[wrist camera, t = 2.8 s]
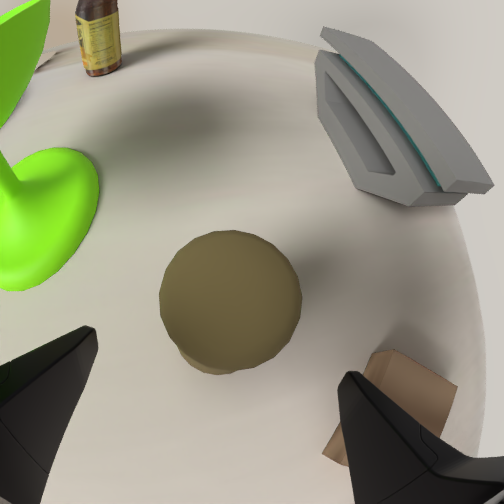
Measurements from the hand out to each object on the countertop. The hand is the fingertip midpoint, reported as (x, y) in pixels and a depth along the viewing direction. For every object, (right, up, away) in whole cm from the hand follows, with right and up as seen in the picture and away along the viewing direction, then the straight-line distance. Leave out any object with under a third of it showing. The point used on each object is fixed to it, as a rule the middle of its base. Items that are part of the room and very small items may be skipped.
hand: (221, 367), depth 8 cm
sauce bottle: (-22, +32, +21) cm, 44 cm away
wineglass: (-20, +8, +11) cm, 24 cm away
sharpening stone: (+14, +16, +21) cm, 30 cm away
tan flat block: (+12, -10, +9) cm, 18 cm away
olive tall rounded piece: (-1, -2, +10) cm, 10 cm away
